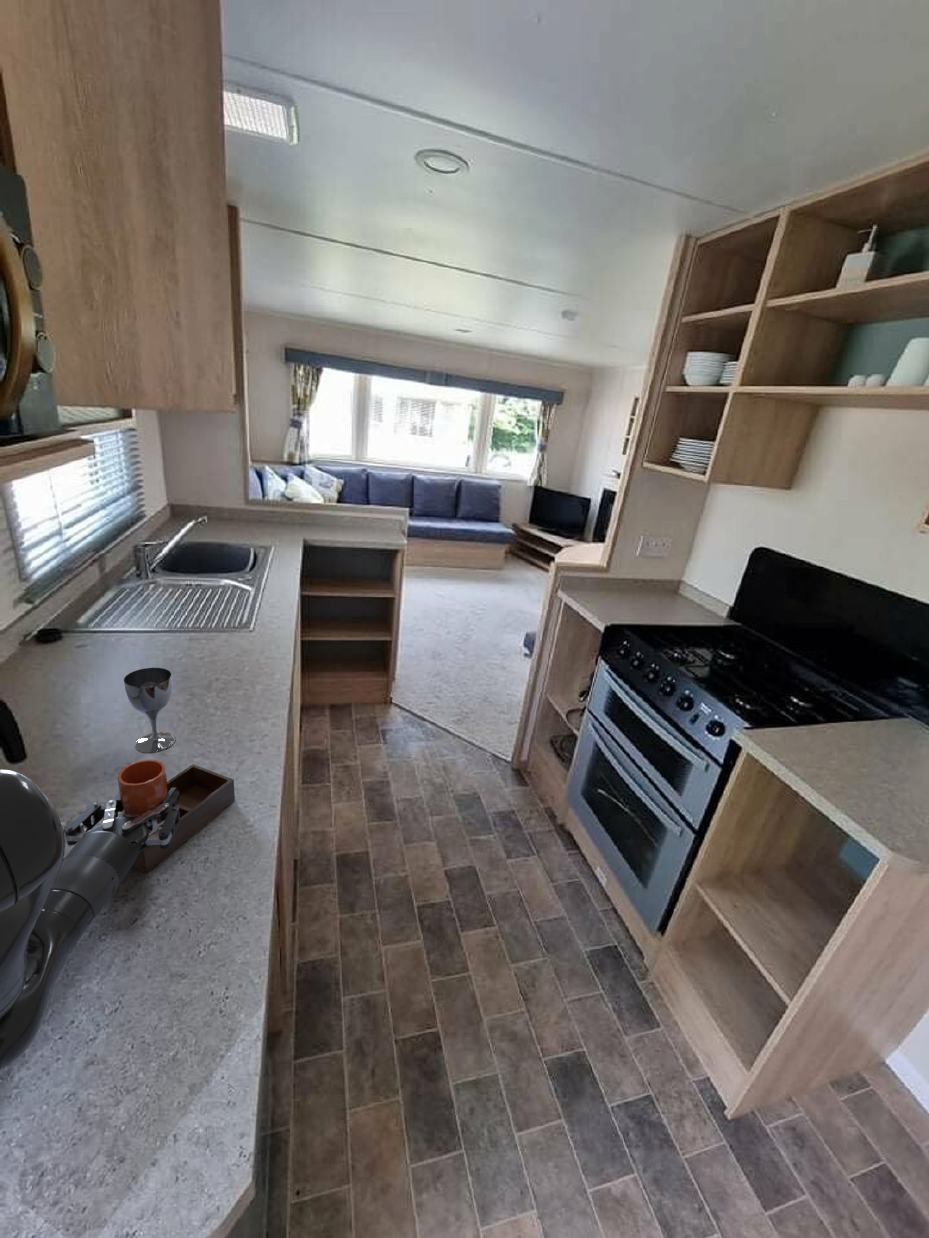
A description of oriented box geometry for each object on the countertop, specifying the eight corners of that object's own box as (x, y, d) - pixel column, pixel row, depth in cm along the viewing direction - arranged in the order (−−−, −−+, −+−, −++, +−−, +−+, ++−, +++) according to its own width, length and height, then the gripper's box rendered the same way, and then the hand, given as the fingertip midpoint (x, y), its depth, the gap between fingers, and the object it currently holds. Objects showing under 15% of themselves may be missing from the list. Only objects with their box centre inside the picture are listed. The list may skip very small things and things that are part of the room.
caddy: (101, 852, 79) (97, 829, 77) (194, 784, 95) (192, 763, 93) (146, 873, 76) (143, 850, 75) (235, 800, 92) (233, 779, 91)
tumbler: (119, 846, 80) (107, 777, 75) (153, 820, 85) (144, 755, 80) (148, 859, 78) (138, 790, 73) (181, 833, 83) (174, 766, 79)
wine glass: (168, 726, 110) (161, 663, 105) (184, 743, 105) (178, 678, 100) (126, 740, 104) (117, 674, 99) (141, 759, 100) (132, 691, 94)
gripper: (142, 859, 65) (199, 773, 80) (20, 854, 64) (102, 768, 79) (148, 902, 67) (202, 811, 83) (31, 898, 66) (109, 807, 82)
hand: (153, 791), depth 81 cm, fingers closed on tumbler, 6 cm apart
